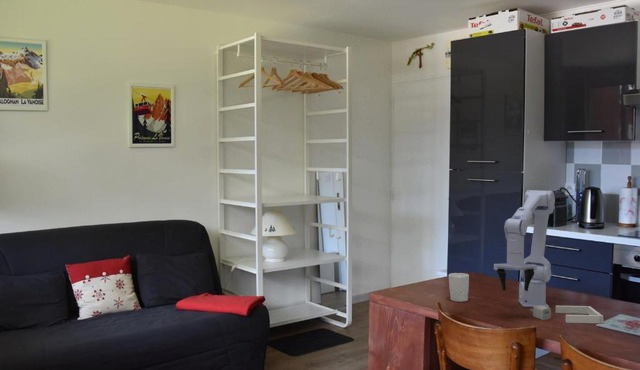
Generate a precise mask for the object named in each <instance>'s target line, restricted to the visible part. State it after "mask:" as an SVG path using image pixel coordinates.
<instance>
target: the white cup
mask: <svg viewBox="0 0 640 370" xmlns="http://www.w3.org/2000/svg"><path fill="white" fill-rule="evenodd" d="M469 277H470V275H469V274H468V273H463V272H459V273H458V272H454V273H453V272H451V273H449V274H448V284H449V285H448V286H449V293H450V301H452V302H460V303H461V302H463V303H464V302H467V301H468V300H469V287H470V286H469V285H470V281H469V280H470V278H469Z"/></svg>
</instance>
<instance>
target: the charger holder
mask: <svg viewBox="0 0 640 370" xmlns="http://www.w3.org/2000/svg"><path fill="white" fill-rule="evenodd" d="M555 313H556V314H565V323H569V324H570V323H571V324H604V315H603V314H601V312H598V311H597V310H596V309H594V308H593V307H592V306H589V305H555Z"/></svg>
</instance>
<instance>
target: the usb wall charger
mask: <svg viewBox="0 0 640 370" xmlns="http://www.w3.org/2000/svg"><path fill="white" fill-rule="evenodd" d="M529 312H532V316H533V318H535V319H539V320H542V321H546V320H550V319H551V318H552V309H551V308H550V307H545V306H542V305H538V306H534V307H532V308H530V309H529Z"/></svg>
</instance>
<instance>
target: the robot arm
mask: <svg viewBox="0 0 640 370" xmlns="http://www.w3.org/2000/svg"><path fill="white" fill-rule="evenodd" d="M523 198H524V204H523V206H521V207H519V208H518V209H516V211H515V213H514V214H513V215H512V217H511V218H508V219H506V220H505V222H504V226H503V229H504V234H505V240H506V263H494V264H493V270H494V271H496V273H497V275H498V278H499V280H500V283H501V288H502V289H501V290H502V291H504V292H505V291H506V289H507V287H506V278H507V273H506V271H520V277H521V279H523V281H519V284H518V285H519V286H518V302H519V303H520V305H521V306H522V307H527V308H528V307H530V308H533V307H534V306H538V305H542V306H545V307H548V308H550V305H548V303H546V302H547V301H546V299H547V298H546V297H547V296H546V293H547V292H546V289H547V284H546V283H548V282H549V281H550V280H551V277H552V269H551V266H552V264H551V263H550V261H549V260H548V259H547V258H546V257H545V251H546V239H547V232H548V224H549V222H548V221H549V218H550V215H551V214H553V213H554V209H555V203H556V197H555V193H554V192H553V190H537V189H536V190H535V189H534V190H533V189H527V190H526V191H525V193H524V197H523ZM533 214H534V223H533V231H532V239H531V240H532V241H531V248H530V254H529V255H528V256H527V257H525V235H526V234H527V231H528V230H527V229H528V226H529V225H528V224H529V223H530V222H531V220H532V218H533Z"/></svg>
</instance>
